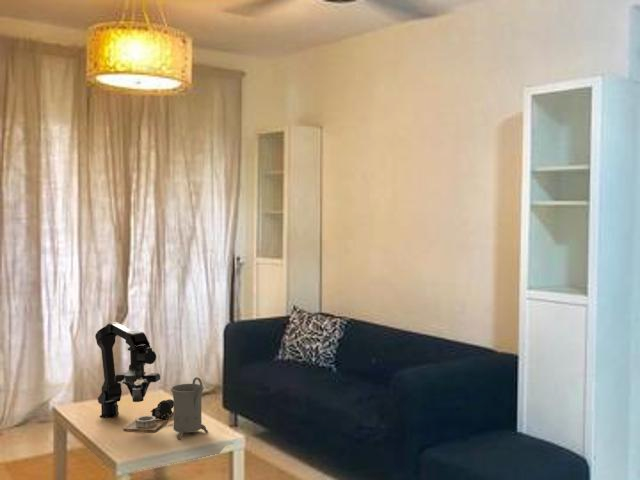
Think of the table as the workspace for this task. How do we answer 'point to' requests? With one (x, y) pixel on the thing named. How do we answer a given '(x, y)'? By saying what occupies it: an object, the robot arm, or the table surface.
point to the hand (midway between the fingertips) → (138, 397)
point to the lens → (137, 392)
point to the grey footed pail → (187, 407)
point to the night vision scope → (163, 409)
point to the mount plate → (145, 429)
